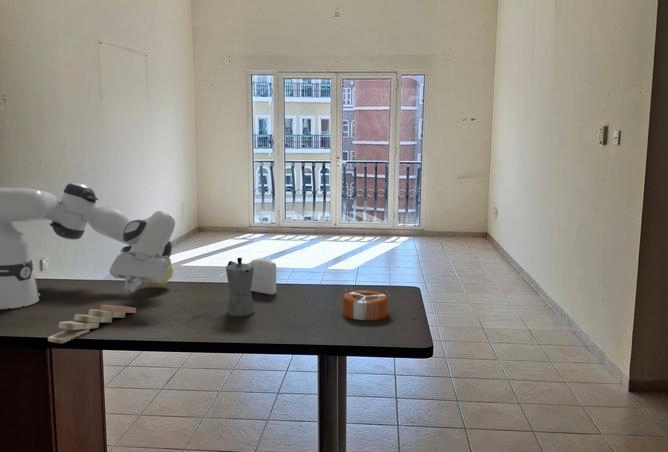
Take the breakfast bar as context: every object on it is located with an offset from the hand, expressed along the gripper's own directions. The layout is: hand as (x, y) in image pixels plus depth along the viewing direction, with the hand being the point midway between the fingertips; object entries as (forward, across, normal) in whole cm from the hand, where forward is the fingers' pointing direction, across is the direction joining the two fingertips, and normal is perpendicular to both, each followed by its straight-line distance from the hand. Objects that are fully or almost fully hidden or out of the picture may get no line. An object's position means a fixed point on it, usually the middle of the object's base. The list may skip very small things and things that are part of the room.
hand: (128, 290), depth 184 cm
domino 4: (+8, 0, -1) cm, 8 cm away
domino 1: (+15, 0, +7) cm, 17 cm away
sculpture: (-18, +12, -25) cm, 33 cm away
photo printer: (-21, -28, -33) cm, 47 cm away
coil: (-14, -70, -26) cm, 76 cm away
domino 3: (+12, 0, +3) cm, 12 cm away
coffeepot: (-5, -32, -16) cm, 36 cm away
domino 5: (+4, 0, -5) cm, 6 cm away
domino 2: (+18, 0, +9) cm, 20 cm away
